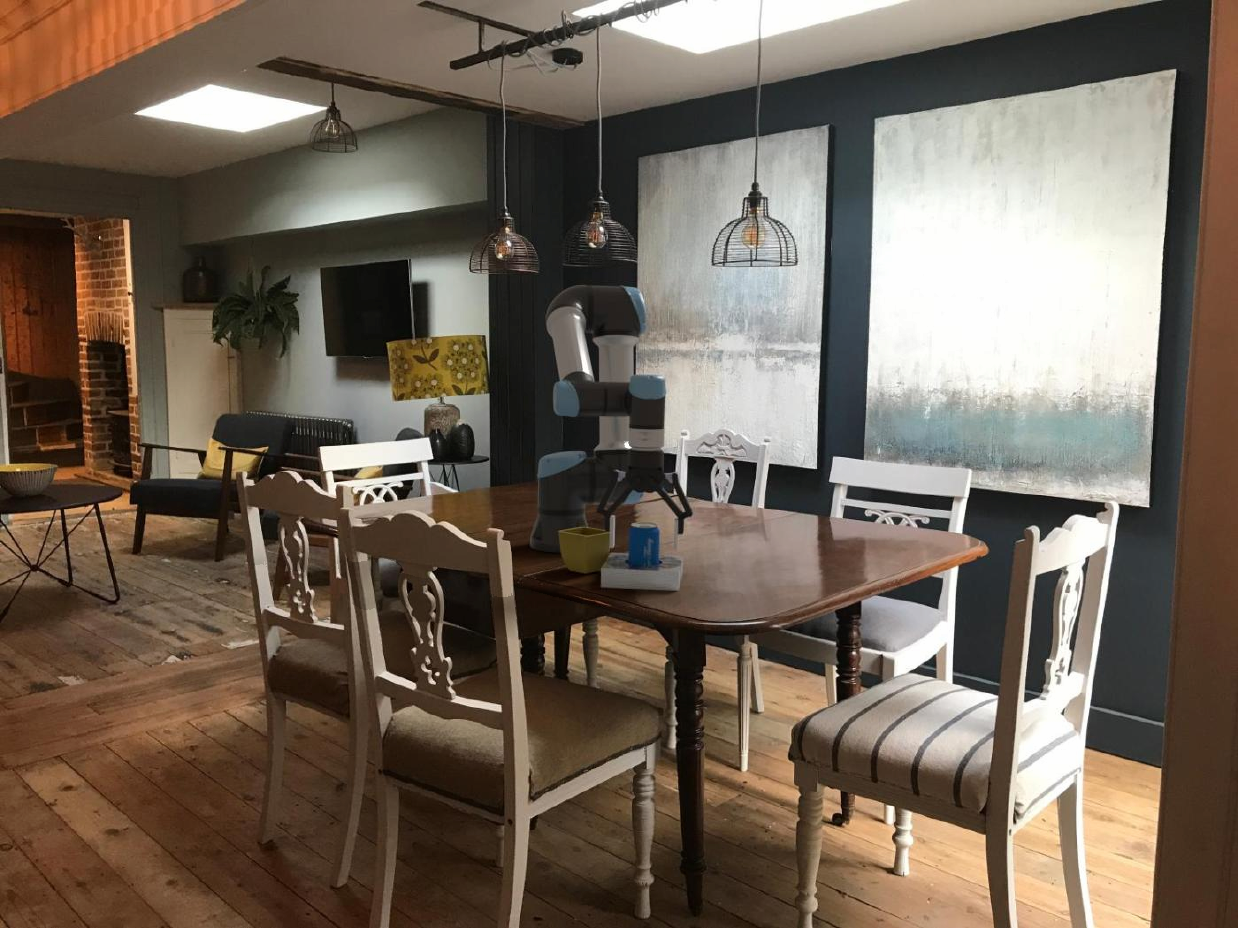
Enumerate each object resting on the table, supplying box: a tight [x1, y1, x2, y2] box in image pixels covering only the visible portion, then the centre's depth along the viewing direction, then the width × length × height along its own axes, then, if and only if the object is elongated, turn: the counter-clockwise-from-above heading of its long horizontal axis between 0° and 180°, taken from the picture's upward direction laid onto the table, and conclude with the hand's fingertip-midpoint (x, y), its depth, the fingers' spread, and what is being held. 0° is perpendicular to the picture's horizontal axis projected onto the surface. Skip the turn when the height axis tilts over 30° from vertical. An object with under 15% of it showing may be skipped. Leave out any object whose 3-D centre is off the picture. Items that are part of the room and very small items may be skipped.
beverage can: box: [628, 522, 661, 566], centre depth 212 cm, size 6×6×12 cm
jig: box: [600, 552, 684, 592], centre depth 212 cm, size 16×16×4 cm
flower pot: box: [558, 526, 611, 575], centre depth 220 cm, size 9×9×9 cm
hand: (643, 548), depth 212 cm, fingers open, 13 cm apart
